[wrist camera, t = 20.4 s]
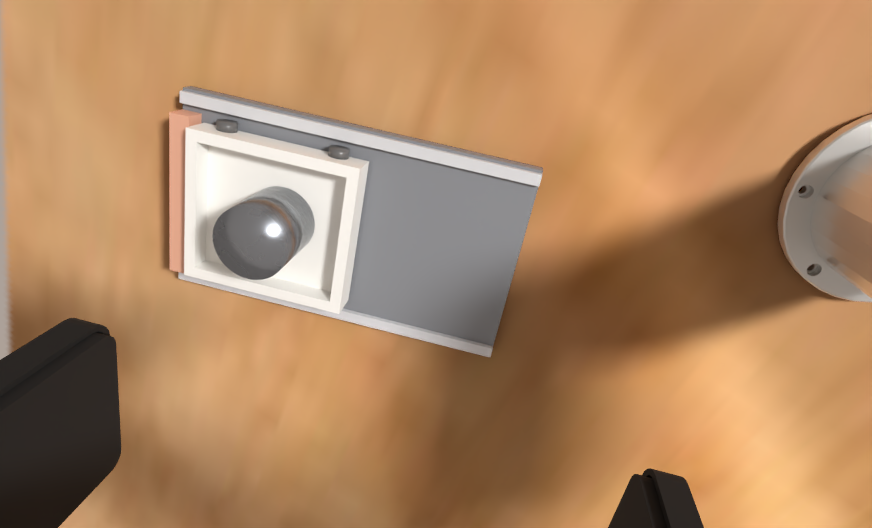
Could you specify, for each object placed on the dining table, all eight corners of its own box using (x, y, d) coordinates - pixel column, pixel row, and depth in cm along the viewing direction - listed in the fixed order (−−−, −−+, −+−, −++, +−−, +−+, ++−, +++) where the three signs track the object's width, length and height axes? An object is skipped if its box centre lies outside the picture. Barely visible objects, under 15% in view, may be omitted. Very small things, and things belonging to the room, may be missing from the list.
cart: (370, 152, 37) (361, 159, 35) (347, 306, 42) (338, 321, 40) (205, 113, 38) (185, 118, 36) (201, 269, 43) (183, 281, 41)
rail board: (542, 167, 37) (543, 176, 35) (490, 350, 43) (488, 368, 41) (191, 86, 39) (169, 89, 36) (188, 273, 45) (169, 287, 42)
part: (318, 195, 38) (290, 216, 34) (311, 259, 40) (283, 287, 36) (250, 178, 39) (213, 198, 34) (246, 243, 41) (211, 269, 36)
